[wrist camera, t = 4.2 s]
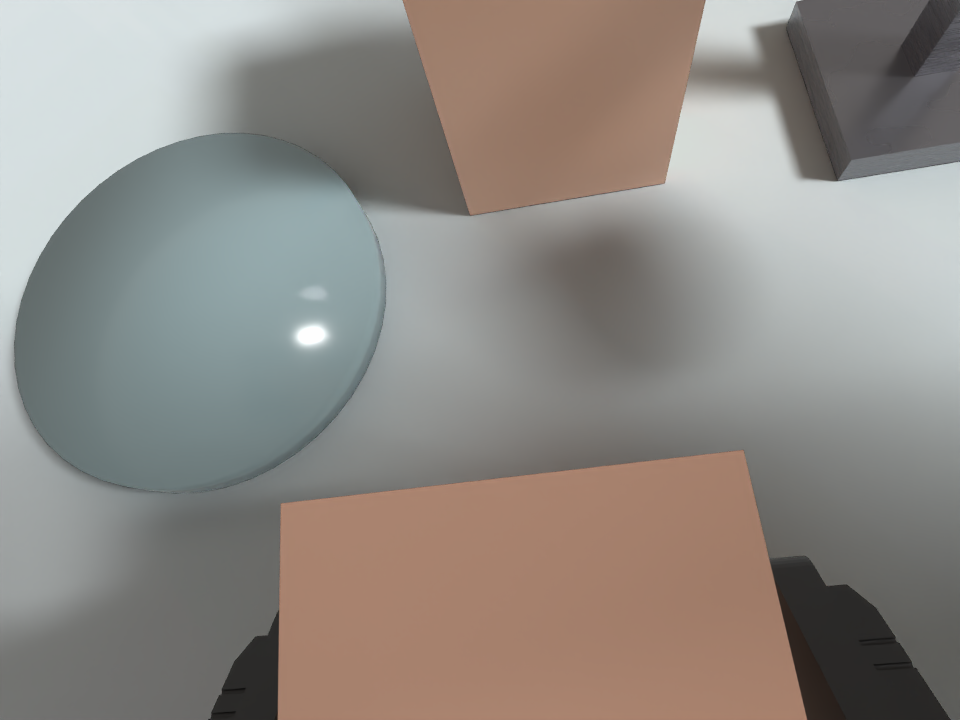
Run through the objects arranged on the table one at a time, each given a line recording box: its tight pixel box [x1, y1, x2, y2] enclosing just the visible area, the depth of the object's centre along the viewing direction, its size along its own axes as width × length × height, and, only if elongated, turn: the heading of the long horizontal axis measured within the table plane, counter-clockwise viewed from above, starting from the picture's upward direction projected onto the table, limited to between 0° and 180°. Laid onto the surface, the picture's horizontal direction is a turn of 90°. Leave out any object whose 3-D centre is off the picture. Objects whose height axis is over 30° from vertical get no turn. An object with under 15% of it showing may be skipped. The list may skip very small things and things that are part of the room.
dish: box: [14, 133, 386, 493], centre depth 20 cm, size 12×12×1 cm
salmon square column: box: [403, 0, 705, 215], centre depth 16 cm, size 6×6×9 cm
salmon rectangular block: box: [278, 450, 807, 720], centre depth 11 cm, size 6×6×9 cm
